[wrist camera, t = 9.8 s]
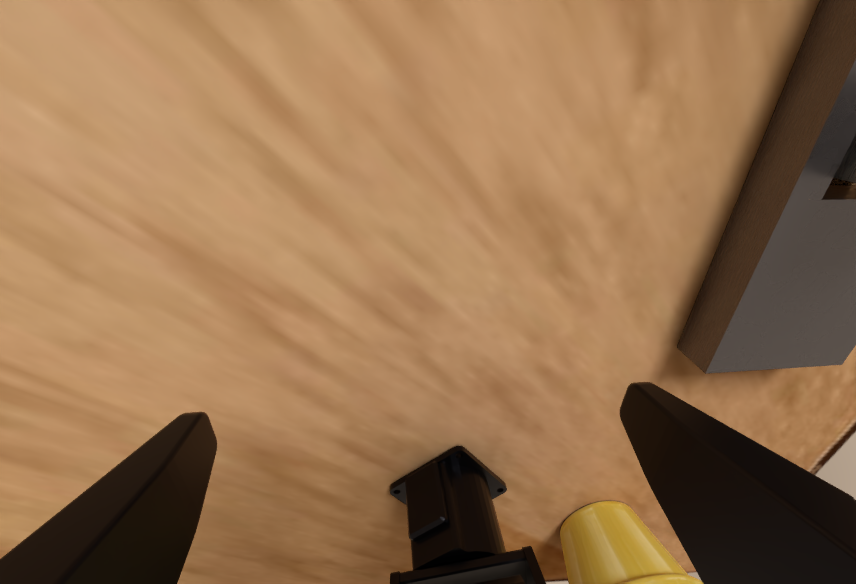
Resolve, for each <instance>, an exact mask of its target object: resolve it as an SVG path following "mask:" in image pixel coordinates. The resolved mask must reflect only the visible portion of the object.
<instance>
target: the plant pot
mask: <svg viewBox="0 0 856 584" xmlns="http://www.w3.org/2000/svg"><path fill="white" fill-rule="evenodd" d="M560 538H561V544H562V549H563V555H564V560H565V565H566V571H567V576H568V582H569V584H703V582H701V581H700V580H698V579H696V578H694V577H692V576H689V575H688V574H687V573H686V572H685V571H684V570H683V568H682V567H681V566H680V565H679V564H678V563H677V562H676V560H675V559H674V558H673V557H672V556H671V555H670V553H669V552H668V551H667V550H666V549H665V548H664V546H663V545H662V544H661V543H660V542H659V541H658V539H657V538H656V537H655V536H654V535H653V534H652V532H651V531H650V530H649V529H648V528H647V527H646V525H645V524H644V523H643V522H642V521H641V520H640V518H639V517H638V516H637V515H636V514H635V513H634V511H633V510H632V509H631V508H630V507H629V506H628V505H626V504H624V503H621V502H617V501H601V502H596V503H592V504H589V505H587V506H584V507H582V508H580V509H578V510H577V511H575V512H574V513H573V514H571V515H570V516H569V517H568V518H567V519H566V520H565V521H564V523H563V525H562V527H561V530H560Z"/></svg>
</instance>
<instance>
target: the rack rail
mask: <svg viewBox="0 0 856 584" xmlns="http://www.w3.org/2000/svg"><path fill="white" fill-rule="evenodd" d="M855 135H856V0H820V2H819V5H818V7H817V9H816V12H815V14H814V17H813V19H812V22H811V24H810V26H809V29H808V31H807V34H806V36H805V38H804V41H803V43H802V46H801V48H800V51H799V53H798V55H797V58H796V60H795V63H794V65H793V68H792V70H791V72H790V75H789V77H788V80H787V82H786V84H785V87H784V89H783V92H782V94H781V97H780V99H779V101H778V104H777V106H776V109H775V111H774V113H773V116H772V118H771V121H770V123H769V126H768V128H767V130H766V133H765V135H764V138H763V140H762V143H761V145H760V147H759V150H758V152H757V155H756V157H755V159H754V162H753V164H752V167H751V169H750V172H749V174H748V176H747V179H746V181H745V184H744V186H743V189H742V191H741V193H740V196H739V198H738V201H737V203H736V205H735V208H734V210H733V213H732V215H731V218H730V220H729V222H728V225H727V227H726V230H725V232H724V234H723V237H722V239H721V242H720V244H719V247H718V249H717V251H716V254H715V256H714V259H713V261H712V264H711V266H710V268H709V271H708V273H707V276H706V278H705V280H704V283H703V285H702V288H701V290H700V293H699V295H698V297H697V300H696V302H695V305H694V307H693V309H692V312H691V314H690V317H689V319H688V322H687V324H686V326H685V329H684V331H683V334H682V336H681V339H680V341H679V343H678V346H677V348H678V349H679V350H680V351H682V352H683V353H684V354H685V355H686V356H687V357H688V358H689V359H690V360H691V361H692V362H693V363H695V364H696V365H697V366H698V367H699V368H700V369H701V370H702V371H703V372H704V373H705V374H706V373H721V372H736V371H752V370H767V369H782V368H798V367H813V366H828V365H842V364H843V363H844V361H845V360H846V358H847V357H848V355H849V354H850V352H851V351H852V350H853V348H854V347H855V345H856V185H831V186H829V185H830V183H831V181H832V179H833V177H834V175H835V173H836V171H837V169H838V167H839V165H840V164H841V162H842V160H843V158H844V156H845V154H846V152H847V150H848V148H849V146H850V144H851V142H852V140H853V139H854V137H855Z"/></svg>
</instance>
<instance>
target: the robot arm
mask: <svg viewBox="0 0 856 584" xmlns="http://www.w3.org/2000/svg"><path fill="white" fill-rule="evenodd" d="M620 418H621V421H622V423H623V426H624V428H625V430H626V433H627V435H628V437H629V439H630V442H631V444H632V446H633V449H634V451H635V453H636V456H637V458H638V460H639V463H640V465H641V467H642V470H643V472H644V474H645V476H646V478H647V481H648V483H649V485H650V487H651V489H652V491H653V493H654V494H655V496H656V498H657V500H658V502H659V504H660V506H661V507H662V509H663V511H664V513H665V515H666V516H667V518H668V520H669V522H670V524H671V526H672V527H673V529H674V531H675V533H676V535H677V536H678V538H679V540H680V542H681V544H682V546H683V547H684V549H685V551H686V553H687V555H688V556H689V558H690V560H691V562H692V564H693V566H694V567H695V569H696V571H697V573H698V575H699V576H700V578H701V580H702V582H703V584H856V500H855V499H854V498H853V497H852V496H850V495H849V494H847V493H845V492H843V491H842V490H840V489H838V488H836V487H834V486H833V485H831V484H829V483H827V482H826V481H824V480H822V479H820V478H819V477H817V476H815V475H813V474H812V473H810V472H808V471H806V470H804V469H803V468H801V467H799V466H797V465H796V464H794V463H792V462H790V461H789V460H787V459H785V458H783V457H781V456H780V455H778V454H776V453H774V452H773V451H771V450H769V449H767V448H766V447H764V446H762V445H760V444H759V443H757V442H755V441H753V440H751V439H750V438H748V437H746V436H744V435H743V434H741V433H739V432H737V431H736V430H734V429H732V428H730V427H728V426H727V425H725V424H723V423H721V422H720V421H718V420H716V419H714V418H713V417H711V416H709V415H707V414H705V413H704V412H702V411H700V410H698V409H697V408H695V407H693V406H691V405H690V404H688V403H686V402H684V401H682V400H681V399H679V398H677V397H675V396H674V395H672V394H670V393H668V392H667V391H665V390H663V389H661V388H660V387H658V386H656V385H654V384H652V383H650V382H638V383H631V384H630V385H629V386H628V388H627V391H626V393H625V396H624V399H623V402H622V405H621V407H620ZM216 451H217V440H216V436H215V434H214V431H213V428H212V425H211V423H210V420H209V417H208V415H207V414H206V413H204V412H192V413H184V414H181V415H180V416H178V417H177V418H176V419H174V420H173V421H172V422H171V423H169V424H168V425H167V426H166V427H164V428H163V429H162V430H161V431H159V432H158V433H157V434H156V435H154V436H153V437H152V438H151V439H149V440H148V441H147V442H146V443H144V444H143V445H142V446H141V447H139V448H138V449H137V450H136V451H134V452H133V453H132V454H131V455H129V456H128V457H127V458H126V459H124V460H123V461H122V462H121V463H120V464H118V465H117V466H116V467H115V468H113V469H112V470H111V471H110V472H108V473H107V474H106V475H105V476H103V477H102V478H101V479H100V480H98V481H97V482H96V483H95V484H93V485H92V486H91V487H90V488H88V489H87V490H86V491H85V492H83V493H82V494H81V495H80V496H78V497H77V498H76V499H75V500H73V501H72V502H71V503H70V504H68V505H67V506H66V507H65V508H63V509H62V510H61V511H60V512H58V513H57V514H56V515H55V516H53V517H52V518H51V519H50V520H48V521H47V522H46V523H45V524H43V525H42V526H41V527H40V528H38V529H37V530H36V531H35V532H33V533H32V534H31V535H30V536H28V537H27V538H26V539H25V540H23V541H22V542H21V543H20V544H18V545H17V546H16V547H15V548H13V549H12V550H11V551H10V552H8V553H7V554H6V555H5V556H3V557H2V558H1V559H0V584H177V582H178V580H179V577H180V574H181V571H182V569H183V566H184V563H185V560H186V558H187V555H188V552H189V549H190V547H191V544H192V541H193V538H194V535H195V532H196V529H197V526H198V522H199V518H200V515H201V511H202V507H203V503H204V499H205V495H206V491H207V487H208V483H209V479H210V475H211V471H212V467H213V463H214V459H215V455H216ZM506 490H507V488H506V485H505V483H504V482H503V481H502V480H501V479H500V478H499V477H498V476H497V475H495V474H494V473H493V472H492V471H491V470H490V469H488V468H487V467H486V466H485V465H484V464H483V463H482V462H480V461H479V460H478V459H477V458H476V457H475V456H474V455H472V454H471V453H470V452H469V451H468V450H467V449H465V448H464V447H463V446H456V447H454V448H452V449H450V450H448V451H447V452H445V453H443V454H442V455H440V456H438V457H437V458H435V459H433V460H432V461H430V462H428V463H427V464H425V465H423V466H421V467H420V468H418V469H416V470H415V471H413V472H411V473H410V474H408V475H406V476H405V477H403V478H401V479H400V480H398V481H396V482H394V483H393V484H391V486H390V494H391V495H392V496H394V497H395V498H397V499H398V500H400V501H401V502H403V503H404V504H406V505H407V518H408V533H409V538H410V539H411V550H412V565H413V571H408V572H403V573H400V572H399V571H398V572H393V573H391V574H390V584H546V583H545V580H544V577H543V575H542V572H541V570H540V567H539V565H538V562H537V560H536V557H535V555H534V552H533V549H532V547H531V546H527V547H522V549H521V550H515V551H510V552H506V550H505V546H504V542H503V539H502V535H501V531H500V527H499V523H498V520H497V516H496V512H495V508H494V505H493V501H492V499H494V498H496V497H498V496H499V495H501V494H503V493H505V492H506Z"/></svg>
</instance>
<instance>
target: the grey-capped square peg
mask: <svg viewBox="0 0 856 584" xmlns="http://www.w3.org/2000/svg"><path fill="white" fill-rule="evenodd" d="M833 178H836V179H841V180H845V181H849V182H854V183H856V135H855V137H854V139H853V140H852V142H851V144H850V146H849V148H848V150H847V152H846V154H845V156H844V158H843V160H842V162H841V164H840V165H839V167H838V169H837V171H836V173H835V175H834V177H833Z"/></svg>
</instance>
